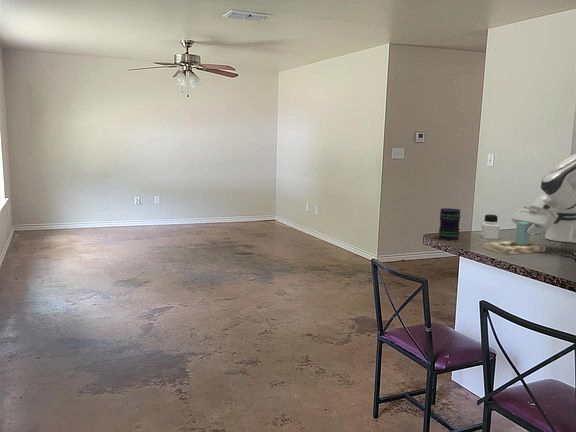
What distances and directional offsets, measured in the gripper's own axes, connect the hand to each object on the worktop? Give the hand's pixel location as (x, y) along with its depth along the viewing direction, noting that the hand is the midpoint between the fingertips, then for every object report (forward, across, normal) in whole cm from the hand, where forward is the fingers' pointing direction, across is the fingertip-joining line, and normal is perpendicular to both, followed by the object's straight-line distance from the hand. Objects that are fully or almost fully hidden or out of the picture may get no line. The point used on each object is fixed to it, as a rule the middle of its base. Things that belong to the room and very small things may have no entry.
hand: (522, 231), depth 227 cm
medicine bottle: (+1, -27, +11) cm, 29 cm away
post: (+4, 0, +5) cm, 6 cm away
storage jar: (+17, -32, -5) cm, 37 cm away
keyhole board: (+8, -1, +4) cm, 9 cm away
